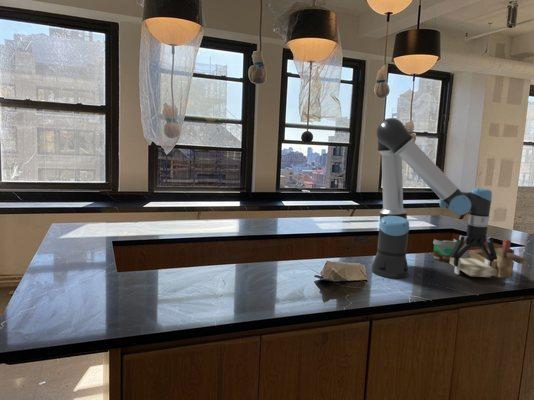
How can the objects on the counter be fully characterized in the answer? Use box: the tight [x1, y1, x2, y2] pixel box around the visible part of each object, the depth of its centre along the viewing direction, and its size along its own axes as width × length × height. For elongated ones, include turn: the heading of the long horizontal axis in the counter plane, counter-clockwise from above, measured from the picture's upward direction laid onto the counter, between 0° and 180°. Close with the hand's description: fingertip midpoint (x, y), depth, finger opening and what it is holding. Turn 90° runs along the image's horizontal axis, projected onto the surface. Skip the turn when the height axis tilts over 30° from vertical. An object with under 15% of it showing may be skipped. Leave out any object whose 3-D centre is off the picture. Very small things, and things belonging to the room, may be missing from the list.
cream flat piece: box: [448, 257, 497, 278], centre depth 167 cm, size 12×15×4 cm
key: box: [501, 239, 527, 265], centre depth 162 cm, size 2×12×7 cm, turn 2°
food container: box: [432, 238, 458, 263], centre depth 186 cm, size 12×6×10 cm, turn 105°
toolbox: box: [468, 247, 515, 279], centre depth 175 cm, size 11×20×12 cm, turn 2°
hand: (471, 274), depth 167 cm, fingers closed on cream flat piece, 12 cm apart
